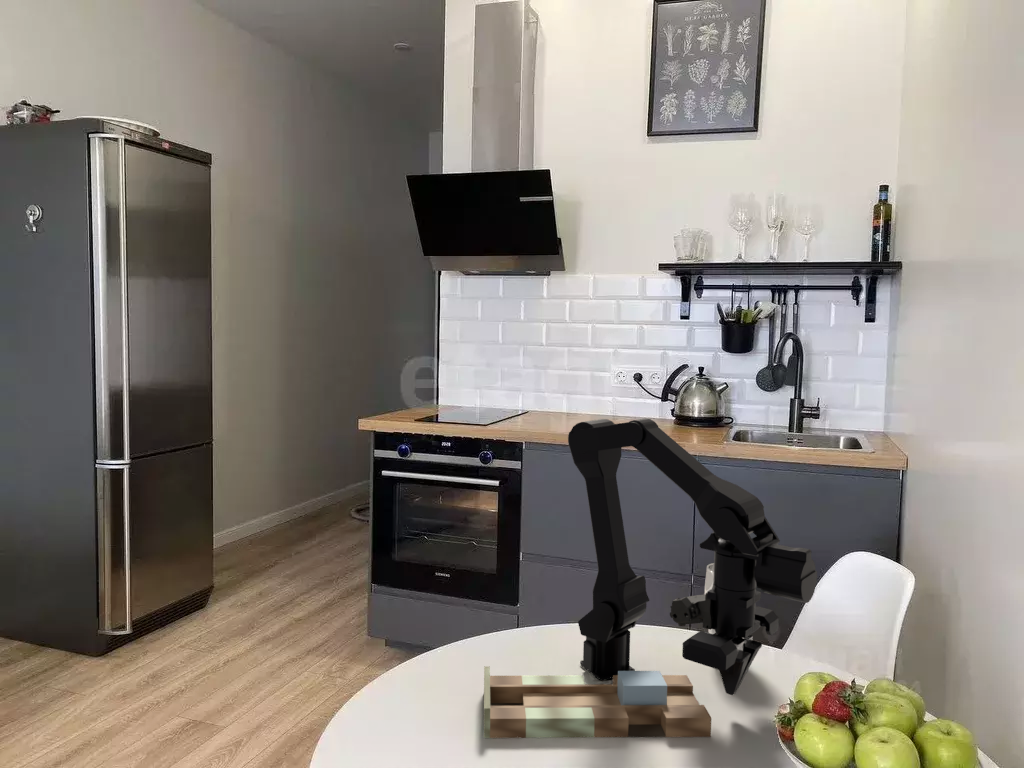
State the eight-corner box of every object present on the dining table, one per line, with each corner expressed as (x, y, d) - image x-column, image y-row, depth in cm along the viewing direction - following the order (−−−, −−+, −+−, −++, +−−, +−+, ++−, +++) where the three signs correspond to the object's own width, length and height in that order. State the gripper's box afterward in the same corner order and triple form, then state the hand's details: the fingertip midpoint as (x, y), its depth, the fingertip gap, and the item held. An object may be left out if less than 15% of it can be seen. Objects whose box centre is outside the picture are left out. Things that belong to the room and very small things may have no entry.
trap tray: (686, 692, 114) (687, 665, 113) (710, 736, 101) (711, 707, 101) (483, 692, 113) (484, 666, 112) (483, 737, 100) (484, 708, 100)
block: (659, 694, 110) (659, 670, 109) (666, 710, 105) (667, 685, 105) (617, 694, 109) (617, 670, 109) (622, 710, 105) (623, 685, 105)
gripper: (710, 557, 119) (707, 655, 120) (649, 588, 104) (646, 698, 106) (782, 573, 111) (777, 677, 113) (726, 608, 97) (722, 726, 98)
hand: (730, 693), depth 108 cm, fingers closed
